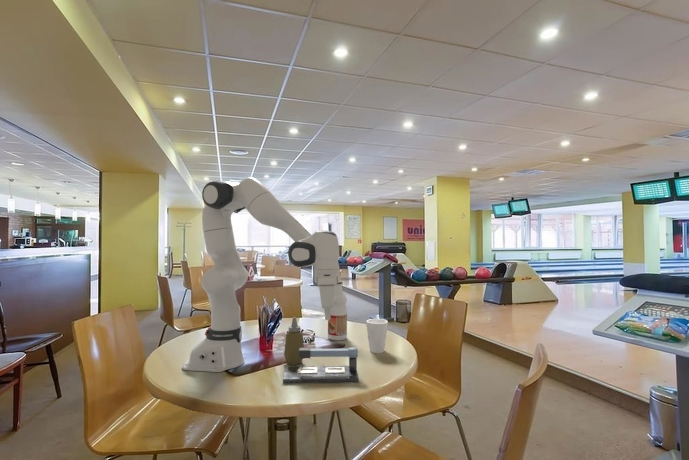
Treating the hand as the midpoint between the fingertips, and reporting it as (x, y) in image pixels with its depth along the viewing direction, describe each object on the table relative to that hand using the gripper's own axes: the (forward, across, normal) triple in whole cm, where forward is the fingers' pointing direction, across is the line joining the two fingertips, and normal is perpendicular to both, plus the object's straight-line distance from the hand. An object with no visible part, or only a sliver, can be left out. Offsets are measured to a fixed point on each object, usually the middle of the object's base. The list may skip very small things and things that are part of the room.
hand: (327, 316), depth 126 cm
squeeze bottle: (+22, -19, -14) cm, 32 cm away
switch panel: (+22, -5, -3) cm, 23 cm away
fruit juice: (+23, -53, +4) cm, 58 cm away
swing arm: (+16, -6, 0) cm, 17 cm away
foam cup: (+23, -33, +21) cm, 46 cm away
